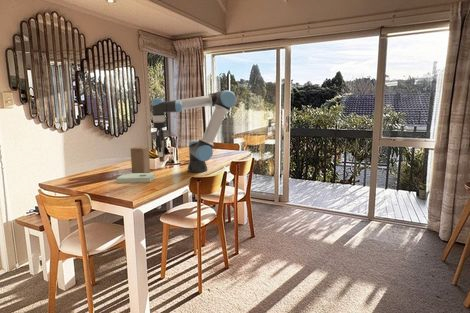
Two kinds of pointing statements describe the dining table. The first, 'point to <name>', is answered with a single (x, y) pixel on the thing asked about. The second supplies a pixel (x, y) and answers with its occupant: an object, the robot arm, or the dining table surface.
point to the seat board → (135, 177)
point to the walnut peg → (163, 153)
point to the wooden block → (140, 159)
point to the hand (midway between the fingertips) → (161, 155)
